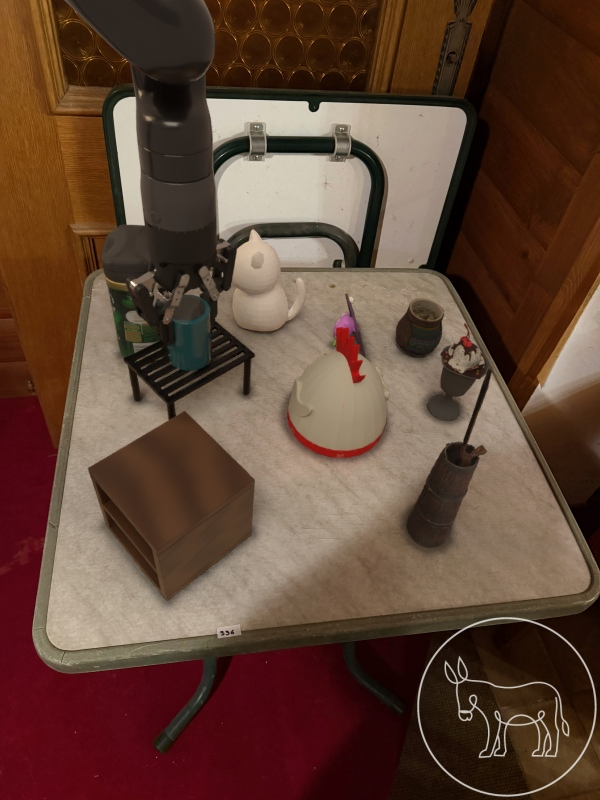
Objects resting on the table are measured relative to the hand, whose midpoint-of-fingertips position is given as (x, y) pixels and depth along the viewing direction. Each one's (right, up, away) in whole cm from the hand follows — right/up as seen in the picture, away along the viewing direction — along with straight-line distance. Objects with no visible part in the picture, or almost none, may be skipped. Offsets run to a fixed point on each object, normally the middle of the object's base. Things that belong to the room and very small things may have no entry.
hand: (188, 330), depth 71 cm
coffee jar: (-9, 0, +16) cm, 18 cm away
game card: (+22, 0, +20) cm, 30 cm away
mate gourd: (+33, 0, +21) cm, 39 cm away
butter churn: (+31, -25, -1) cm, 40 cm away
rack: (-1, -8, +9) cm, 13 cm away
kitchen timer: (+19, -12, +9) cm, 24 cm away
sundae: (+35, -10, +13) cm, 39 cm away
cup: (0, -3, +3) cm, 5 cm away
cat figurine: (+8, +4, +22) cm, 24 cm away
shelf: (0, -24, -5) cm, 25 cm away
